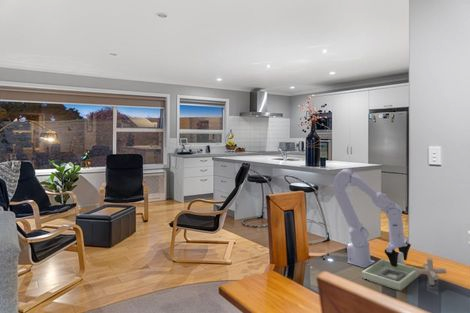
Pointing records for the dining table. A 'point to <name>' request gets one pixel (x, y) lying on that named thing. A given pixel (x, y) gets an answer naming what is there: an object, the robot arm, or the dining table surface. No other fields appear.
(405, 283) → the walled box
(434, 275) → the grey toy jack
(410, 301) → the dining table surface
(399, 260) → the pvc coupling
